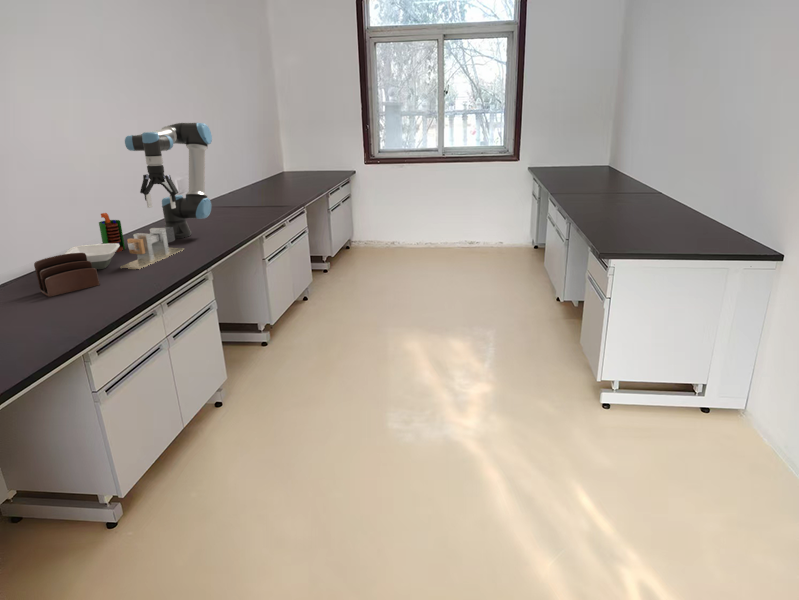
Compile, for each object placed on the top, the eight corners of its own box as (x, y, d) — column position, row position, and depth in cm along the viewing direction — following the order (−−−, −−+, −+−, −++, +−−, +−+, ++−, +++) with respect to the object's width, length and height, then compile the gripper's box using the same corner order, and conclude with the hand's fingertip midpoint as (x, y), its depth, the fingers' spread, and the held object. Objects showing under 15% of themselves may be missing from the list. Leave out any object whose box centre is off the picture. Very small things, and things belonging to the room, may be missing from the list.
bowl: (62, 275, 244) (58, 257, 241) (76, 262, 265) (72, 245, 262) (115, 271, 250) (112, 254, 247) (125, 258, 270) (122, 242, 267)
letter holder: (40, 292, 223) (32, 259, 218) (91, 280, 237) (84, 250, 232) (48, 297, 217) (40, 264, 212) (100, 285, 231) (93, 253, 226)
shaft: (128, 254, 255) (125, 240, 252) (166, 239, 282) (164, 226, 279) (137, 255, 254) (134, 240, 251) (175, 240, 281) (173, 227, 278)
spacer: (129, 253, 257) (127, 239, 255) (132, 252, 259) (130, 238, 257) (142, 254, 256) (140, 239, 253) (145, 253, 258) (142, 238, 255)
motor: (114, 253, 279) (107, 215, 272) (99, 253, 281) (92, 215, 274) (127, 248, 288) (120, 211, 281) (113, 248, 290) (106, 211, 283)
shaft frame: (120, 268, 254) (115, 239, 249) (167, 249, 287) (163, 223, 282) (139, 269, 252) (133, 240, 247) (184, 250, 285) (180, 224, 280)
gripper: (127, 165, 264) (135, 208, 271) (172, 166, 259) (179, 210, 266) (138, 163, 271) (145, 205, 278) (181, 164, 266) (187, 207, 273)
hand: (161, 207), depth 272 cm, fingers open, 13 cm apart
